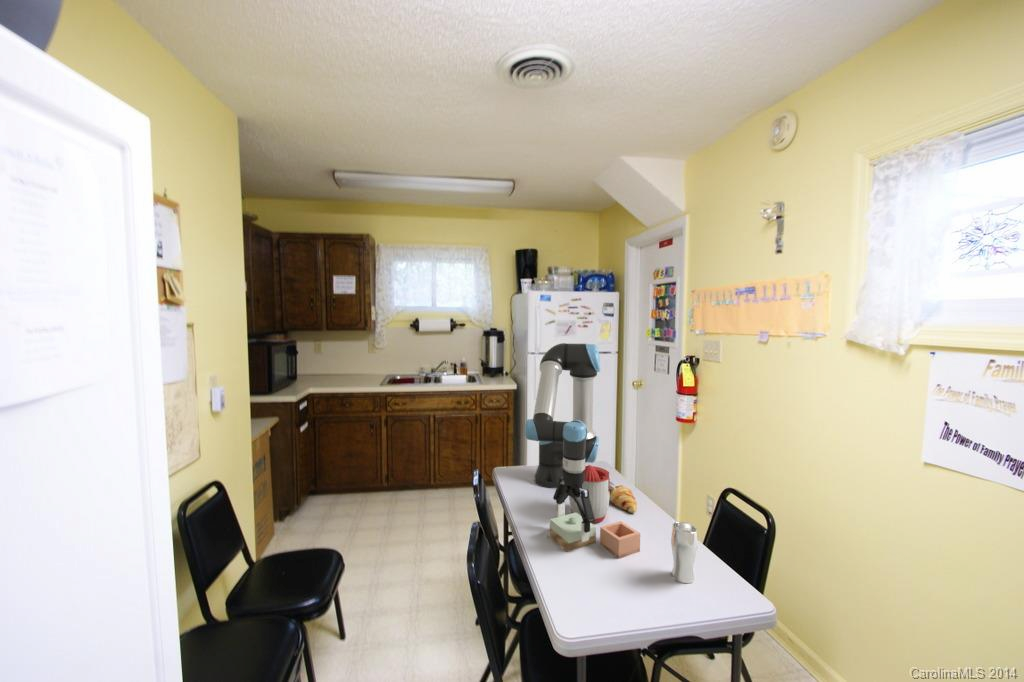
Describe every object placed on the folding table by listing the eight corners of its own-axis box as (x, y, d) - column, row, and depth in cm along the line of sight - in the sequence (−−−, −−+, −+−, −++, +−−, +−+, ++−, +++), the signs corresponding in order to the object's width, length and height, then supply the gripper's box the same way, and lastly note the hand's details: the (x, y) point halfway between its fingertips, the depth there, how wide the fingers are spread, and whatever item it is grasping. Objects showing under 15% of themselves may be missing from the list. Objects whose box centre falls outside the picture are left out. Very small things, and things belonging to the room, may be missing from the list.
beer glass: (674, 566, 126) (676, 518, 125) (698, 576, 121) (700, 526, 120) (666, 577, 120) (668, 527, 120) (691, 587, 116) (693, 536, 115)
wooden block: (549, 537, 142) (549, 528, 142) (577, 529, 148) (577, 520, 147) (566, 551, 133) (566, 542, 133) (595, 542, 139) (595, 534, 139)
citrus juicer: (615, 529, 147) (616, 475, 146) (566, 524, 151) (567, 470, 149) (613, 509, 163) (615, 460, 161) (569, 505, 166) (570, 456, 165)
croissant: (640, 523, 159) (650, 504, 160) (620, 513, 157) (629, 495, 157) (615, 498, 180) (623, 481, 180) (596, 489, 177) (605, 473, 178)
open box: (599, 544, 138) (600, 527, 137) (620, 538, 142) (620, 521, 141) (618, 558, 130) (619, 540, 129) (639, 551, 134) (640, 533, 134)
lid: (549, 527, 142) (550, 515, 142) (575, 520, 148) (576, 509, 147) (568, 543, 133) (568, 530, 132) (595, 535, 138) (596, 522, 138)
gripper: (544, 459, 148) (543, 517, 149) (588, 484, 126) (586, 552, 127) (561, 456, 152) (560, 513, 153) (607, 480, 130) (605, 546, 131)
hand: (572, 531), depth 140 cm, fingers open, 13 cm apart
